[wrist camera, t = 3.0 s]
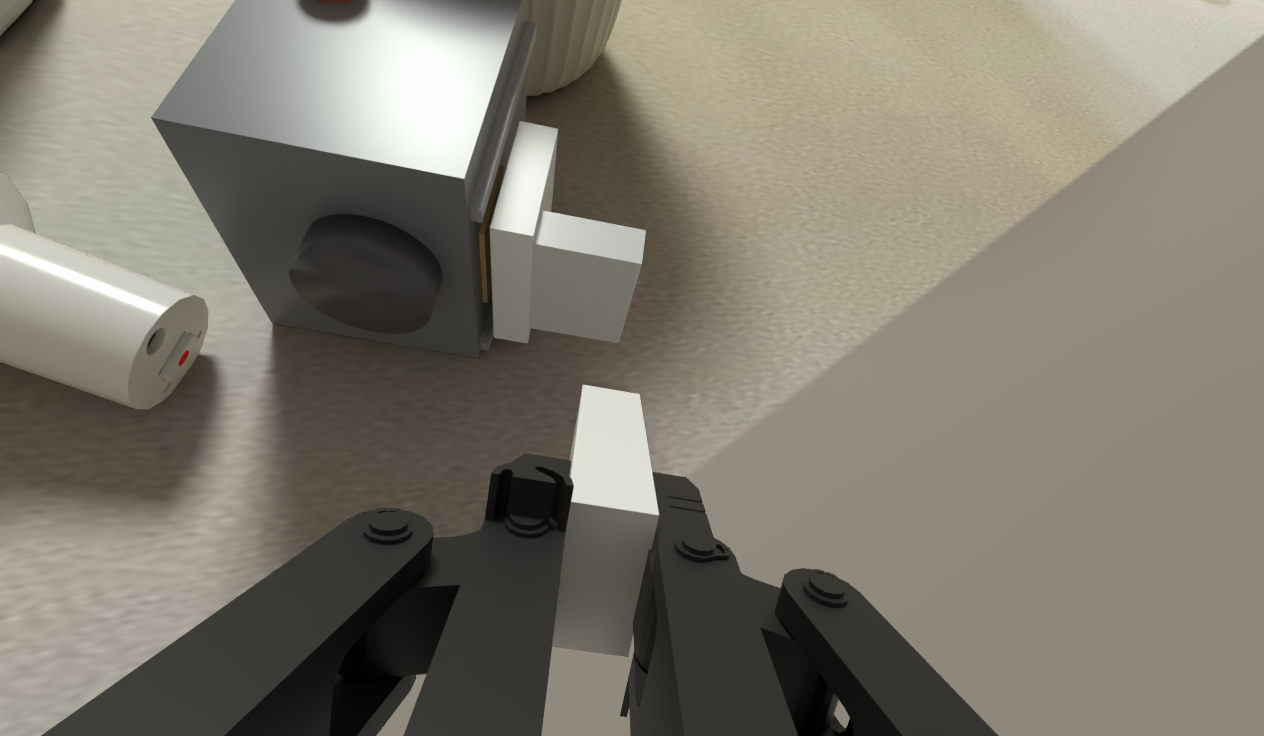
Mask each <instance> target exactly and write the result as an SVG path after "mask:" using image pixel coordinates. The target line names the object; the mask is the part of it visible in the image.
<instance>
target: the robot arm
mask: <svg viewBox="0 0 1264 736" xmlns="http://www.w3.org/2000/svg"><path fill="white" fill-rule="evenodd" d="M433 535H434V533H433V528H432V525H431V524H430V523H429V522H428V521H427V520H426V519H425V518H424V517H422V516H420V515H417V514H415V513H412V512H409V511H403V510H400V509H392V508H389V509H387V508H384V509H377V510H373V511H368V512H363V513H360V514H358V515H356V516H354V517H352V518H350V519H348V520H346V521H345V522H343V523H342V524H341V525H339V526H338V527H336V528H335V529H334V530H332V531H331V532H329V533H328V534H326V535H325V536H324V537H322V538H321V539H319V540H318V541H317V542H315V543H314V544H312V545H311V546H309V547H308V548H307V549H305V550H304V551H302V552H301V553H300V554H298V555H297V556H295V557H294V558H292V559H291V560H290V561H288V562H287V563H285V564H284V565H282V566H281V567H280V568H278V569H277V570H275V571H274V572H273V573H271V574H270V575H268V576H267V577H265V578H264V579H263V580H261V581H260V582H258V583H257V584H256V585H254V586H253V587H251V588H250V589H248V590H247V591H246V592H244V593H243V594H241V595H240V596H239V597H237V598H236V599H234V600H233V601H231V602H230V603H229V604H227V605H226V606H224V607H223V608H222V609H220V610H219V611H217V612H216V613H214V614H213V615H212V616H210V617H209V618H207V619H206V620H204V621H203V622H202V623H200V624H199V625H197V626H196V627H195V628H193V629H192V630H190V631H189V632H187V633H186V634H185V635H183V636H182V637H180V638H179V639H178V640H176V641H175V642H173V643H172V644H170V645H169V646H168V647H166V648H165V649H163V650H162V651H161V652H159V653H158V654H156V655H155V656H153V657H152V658H151V659H149V660H148V661H146V662H145V663H144V664H142V665H141V666H139V667H138V668H136V669H135V670H134V671H132V672H131V673H129V674H128V675H127V676H125V677H124V678H122V679H121V680H119V681H118V682H117V683H115V684H114V685H112V686H111V687H109V688H108V689H107V690H105V691H104V692H102V693H101V694H100V695H98V696H97V697H95V698H94V699H92V700H91V701H90V702H88V703H87V704H85V705H84V706H83V707H81V708H80V709H78V710H77V711H75V712H74V713H73V714H71V715H70V716H68V717H67V718H66V719H64V720H63V721H61V722H60V723H58V724H57V725H56V726H54V727H53V728H51V729H50V730H49V731H47V732H46V733H44V734H43V735H41V736H376V735H377V734H378V733H379V731H380V730H381V729H382V727H383V726H384V725H385V723H386V722H387V721H388V719H389V718H390V717H391V715H392V714H393V713H394V711H395V710H396V709H397V708H398V706H399V705H400V704H401V702H402V701H403V700H404V698H405V697H406V696H407V694H408V693H409V692H410V690H411V688H412V686H413V684H414V682H415V679H416V675H419V674H427V675H426V677H425V680H424V683H423V685H422V688H421V691H420V694H419V696H418V699H417V701H416V704H415V707H414V710H413V712H412V715H411V717H410V720H409V723H408V725H407V728H406V731H405V734H404V736H541V733H542V724H543V717H544V708H545V700H546V692H547V683H548V675H549V667H550V658H551V650H552V647H559V648H566V649H574V650H581V651H588V652H596V653H603V654H611V655H619V656H625V657H628V655H629V649H630V646H631V641H632V636H633V634H634V655H633V659H632V664H631V669H630V673H629V678H628V682H627V687H626V691H625V696H624V700H623V704H622V709H621V714H620V716H624V717H627V713H628V710H629V707H630V729H631V736H998V735H997V734H996V733H995V732H994V731H993V730H992V729H991V728H990V727H989V726H988V725H987V724H986V723H985V721H983V719H982V718H980V716H979V715H978V714H977V713H976V712H975V711H974V710H973V709H972V708H971V707H970V706H969V705H968V704H967V703H966V702H965V701H964V700H963V699H962V698H961V697H960V696H959V695H958V694H957V693H956V691H955V690H954V689H953V688H951V686H950V685H949V684H948V683H947V682H946V681H945V680H944V679H943V678H942V677H941V676H940V675H939V674H938V673H937V672H936V671H935V670H934V669H933V668H932V667H931V666H930V665H929V664H928V663H927V662H926V660H925V659H924V658H923V657H922V656H921V655H920V654H919V653H918V652H917V651H916V650H915V649H914V648H913V647H912V646H911V645H910V644H909V643H908V642H907V641H906V640H905V639H904V638H903V637H902V636H901V635H900V634H899V633H898V632H897V631H896V629H894V628H893V626H892V625H891V624H890V623H889V622H888V621H887V620H886V619H885V618H884V617H883V616H882V615H881V614H880V613H879V612H878V611H877V610H876V609H875V608H874V607H873V606H872V605H871V604H870V603H869V602H868V601H867V599H865V597H864V596H863V595H862V594H861V593H860V592H859V591H857V590H856V589H855V588H853V587H852V586H851V585H850V584H849V583H847V582H845V581H843V580H841V579H839V578H838V577H836V576H835V575H833V574H831V573H828V572H826V573H825V572H824V571H822V570H816V569H815V570H813V569H805V568H802V569H795V570H791V571H789V572H788V573H787V574H785V575H784V578H783V582H782V586H781V588H778V587H775V586H772V585H769V584H766V583H763V582H760V581H757V580H755V579H753V578H750V577H747V576H745V575H743V574H742V573H741V572H740V569H739V566H738V563H737V561H736V557H735V556H734V554H733V553H732V551H731V550H730V548H729V547H727V546H726V545H725V544H723V543H722V542H721V541H719V540H717V539H715V538H714V537H713V534H712V531H711V528H710V524H709V521H708V518H707V515H706V514H705V508H704V505H703V504H702V499H701V496H700V492H699V490H698V488H697V487H695V485H693V484H692V483H691V482H690V481H689V480H688V479H687V478H686V477H680V476H674V475H668V474H661V473H655V472H652V468H651V462H650V456H649V450H648V443H647V437H646V431H645V425H644V419H643V412H642V406H641V400H640V394H636V393H630V392H624V391H618V390H612V389H606V388H601V387H595V386H589V385H583V386H582V392H581V398H580V403H579V409H578V415H577V420H576V426H575V432H574V437H573V443H572V449H571V454H570V460H563V459H556V458H550V457H544V456H538V455H531V454H524V455H522V456H521V457H519V458H518V459H516V460H514V461H513V462H512V463H507V464H505V465H502V466H499V467H497V468H496V469H495V470H494V471H493V472H492V473H491V480H490V487H489V494H488V501H487V508H486V515H485V520H484V523H483V526H482V528H481V530H479V531H476V532H474V533H471V534H467V535H463V536H457V537H444V538H433ZM838 700H840V702H841V703H842V705H843V706H844V708H845V709H846V711H847V713H848V715H849V717H850V720H849V723H848V726H847V727H846V729H845V728H844V727H843V726H842V725H841V724H840V723H839V721H838V720H837V718H836V717H835V715H834V712H835V709H836V706H837V703H838Z"/></svg>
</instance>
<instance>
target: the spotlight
mask: <svg viewBox="0 0 1264 736" xmlns="http://www.w3.org/2000/svg"><path fill="white" fill-rule="evenodd" d="M207 328H208V308H207V306H206V303H205V301H204V299H202V298H200V297H197V296H195V295H192V294H190V293H187V292H185V291H182V290H179V289H177V288H174V287H172V286H169V285H167V284H164V283H161V282H159V281H156V280H154V279H151V278H148V277H146V276H143V275H141V274H138V273H136V272H133V271H130V270H128V269H125V268H123V267H120V266H117V265H115V264H112V263H110V262H107V261H104V260H102V259H99V258H97V257H94V256H92V255H89V254H86V253H84V252H81V251H79V250H76V249H73V248H71V247H68V246H66V245H63V244H61V243H58V242H55V241H53V240H50V239H48V238H45V237H42V236H40V235H37V234H36V232H35V229H34V225H33V221H32V217H31V213H30V210H29V206H28V203H27V202H26V200H25V199H24V197H23V196H22V194H21V193H20V192H19V190H18V189H17V187H16V186H15V184H14V183H13V181H12V180H11V178H10V177H8V176H6V175H4V174H2V173H0V362H2V363H5V364H7V365H10V366H13V367H16V368H19V369H22V370H25V371H28V372H30V373H33V374H36V375H39V376H42V377H45V378H48V379H51V380H54V381H56V382H59V383H62V384H65V385H68V386H71V387H74V388H77V389H80V390H82V391H85V392H88V393H91V394H94V395H97V396H100V397H103V398H106V399H108V400H111V401H114V402H117V403H120V404H123V405H126V406H129V407H132V408H134V409H150V408H152V407H153V406H155V405H157V404H159V403H161V402H162V401H164V400H165V399H166V398H167V397H168V396H169V395H170V394H171V393H172V392H173V391H174V389H175V388H176V387H177V385H178V384H179V382H180V381H181V380H182V378H183V377H184V375H185V374H186V373H187V371H188V370H189V368H190V367H191V366H192V364H193V363H194V361H195V360H196V358H197V356H198V354H199V352H200V350H201V348H202V345H203V341H204V338H205V335H206V331H207Z"/></svg>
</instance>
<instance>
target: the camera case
mask: <svg viewBox="0 0 1264 736" xmlns="http://www.w3.org/2000/svg"><path fill="white" fill-rule="evenodd" d="M528 8H529V0H235V1H234V3H233V4H232V6H231V7H230V8H229V10H228V11H227V13H226V14H225V15H224V17H223V18H222V20H221V21H220V22H219V24H218V25H217V26H216V28H215V29H214V31H213V32H212V33H211V35H210V36H209V38H208V39H207V40H206V42H205V43H204V45H203V46H202V47H201V49H200V50H199V52H198V53H197V54H196V56H195V57H194V58H193V60H192V61H191V63H190V64H189V65H188V67H187V68H186V70H185V71H184V72H183V74H182V75H181V77H180V78H179V79H178V81H177V82H176V84H175V85H174V86H173V88H172V89H171V90H170V92H169V93H168V95H167V96H166V97H165V99H164V100H163V102H162V103H161V104H160V106H159V107H158V109H157V110H156V111H155V113H154V114H153V116H152V117H151V118H152V120H153V122H154V123H155V125H156V127H157V129H158V130H159V132H160V134H161V135H162V137H163V139H164V140H165V142H166V144H167V146H168V147H169V149H170V151H171V152H172V154H173V156H174V157H175V159H176V161H177V163H178V164H179V166H180V168H181V169H182V171H183V173H184V174H185V176H186V178H187V180H188V181H189V183H190V185H191V186H192V188H193V190H194V191H195V193H196V195H197V197H198V198H199V200H200V202H201V203H202V205H203V207H204V208H205V210H206V212H207V214H208V215H209V217H210V219H211V220H212V222H213V224H214V225H215V227H216V229H217V230H218V232H219V234H220V236H221V237H222V239H223V241H224V242H225V244H226V246H227V247H228V249H229V251H230V253H231V254H232V256H233V258H234V259H235V261H236V263H237V264H238V266H239V268H240V270H241V271H242V273H243V275H244V276H245V278H246V280H247V281H248V283H249V285H250V287H251V288H252V290H253V292H254V293H255V295H256V297H257V298H258V300H259V302H260V304H261V305H262V307H263V309H264V310H265V312H266V314H267V315H268V317H269V319H270V321H271V322H272V324H278V325H284V326H289V327H295V328H301V329H307V330H313V331H319V332H325V333H331V334H337V335H343V336H349V337H355V338H360V339H366V340H372V341H378V342H384V343H390V344H396V345H402V346H408V347H414V348H420V349H425V350H431V351H437V352H443V353H449V354H455V355H461V356H467V357H473V358H479V356H480V352H481V350H486V351H489V349H490V345H491V341H492V337H493V333H494V328H493V302H492V276H491V249H490V225H491V221H492V218H493V214H494V211H495V207H496V204H497V200H498V196H499V193H500V189H501V186H502V182H503V179H504V175H505V172H506V168H507V164H508V161H509V157H510V154H511V150H512V147H513V143H514V139H515V136H516V132H517V129H518V125H519V122H520V121H522V122H525V116H526V80H527V67H528V63H529V60H530V56H531V53H532V50H533V46H534V43H535V39H536V28H537V23H532V22H528Z"/></svg>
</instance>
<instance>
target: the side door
mask: <svg viewBox="0 0 1264 736" xmlns="http://www.w3.org/2000/svg"><path fill="white" fill-rule="evenodd" d="M557 138H558V129H556V128H552V127H547V126H542V125H537V124H532V123H527V122H522V121H520V122H519V125H518V129H517V132H516V136H515V139H514V143H513V147H512V150H511V154H510V157H509V161H508V164H507V168H506V172H505V175H504V179H503V182H502V186H501V189H500V193H499V196H498V200H497V204H496V207H495V211H494V214H493V218H492V221H491V225H490V249H491V276H492V302H493V328H494V338H499V339H505V340H510V341H516V342H522V343H528V341H529V336H530V331H531V328H533V329H539V330H544V331H550V332H556V333H561V334H567V335H573V336H579V337H584V338H590V339H596V340H601V341H607V342H613V343H619V342H620V338H621V335H622V331H623V328H624V324H625V321H626V317H627V314H628V311H629V307H630V304H631V300H632V297H633V293H634V290H635V286H636V283H637V279H638V276H639V273H640V269H641V266H642V259H643V251H644V242H645V234H646V230H642V229H637V228H631V227H626V226H621V225H616V224H611V223H606V222H600V221H595V220H590V219H585V218H580V217H574V216H569V215H564V214H559V213H554V212H551V210H552V198H553V186H554V174H555V162H556V150H557Z"/></svg>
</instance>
